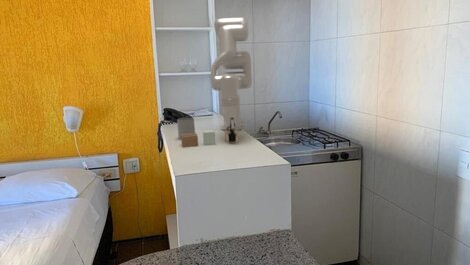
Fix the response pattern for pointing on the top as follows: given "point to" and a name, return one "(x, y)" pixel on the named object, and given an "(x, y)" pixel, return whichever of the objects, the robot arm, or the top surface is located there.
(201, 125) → the top surface
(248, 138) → the top surface
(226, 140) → the maple block
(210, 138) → the sage block
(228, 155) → the top surface
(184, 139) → the walnut block
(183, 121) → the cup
